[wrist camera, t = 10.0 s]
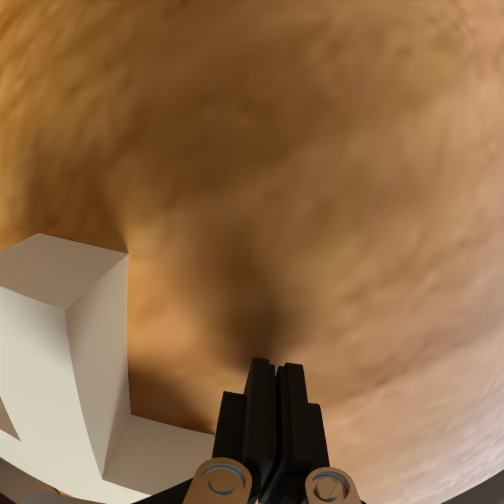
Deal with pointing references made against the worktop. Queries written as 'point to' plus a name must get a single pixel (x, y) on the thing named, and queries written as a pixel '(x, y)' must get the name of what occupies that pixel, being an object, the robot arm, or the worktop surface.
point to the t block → (79, 378)
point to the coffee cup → (17, 484)
